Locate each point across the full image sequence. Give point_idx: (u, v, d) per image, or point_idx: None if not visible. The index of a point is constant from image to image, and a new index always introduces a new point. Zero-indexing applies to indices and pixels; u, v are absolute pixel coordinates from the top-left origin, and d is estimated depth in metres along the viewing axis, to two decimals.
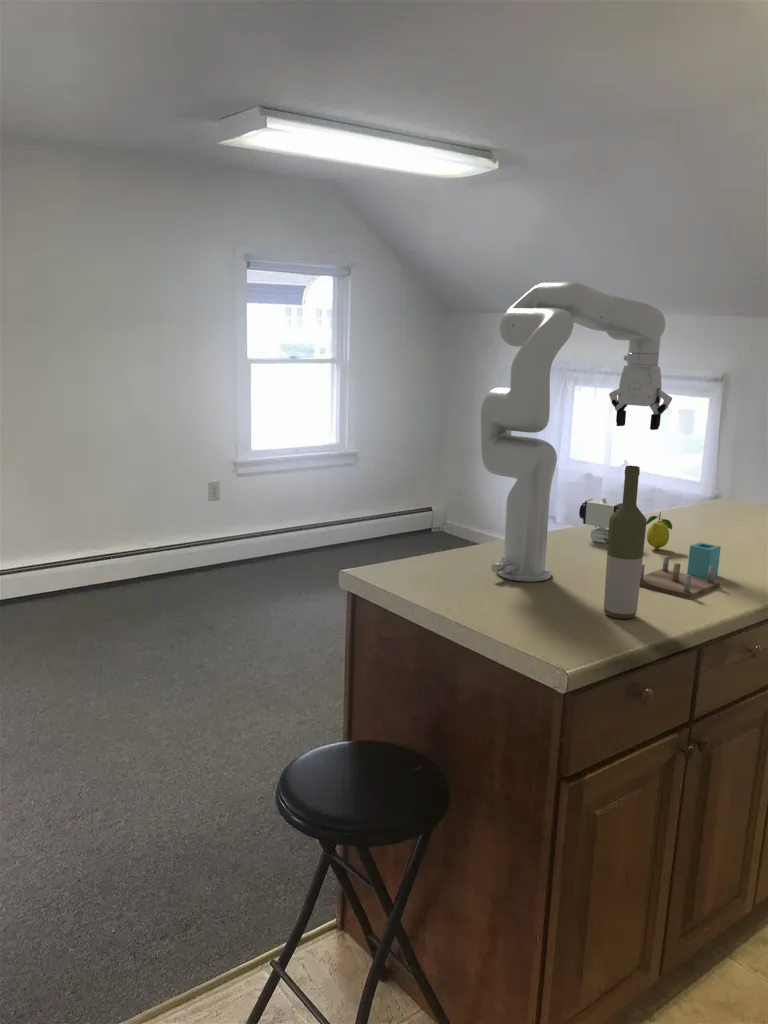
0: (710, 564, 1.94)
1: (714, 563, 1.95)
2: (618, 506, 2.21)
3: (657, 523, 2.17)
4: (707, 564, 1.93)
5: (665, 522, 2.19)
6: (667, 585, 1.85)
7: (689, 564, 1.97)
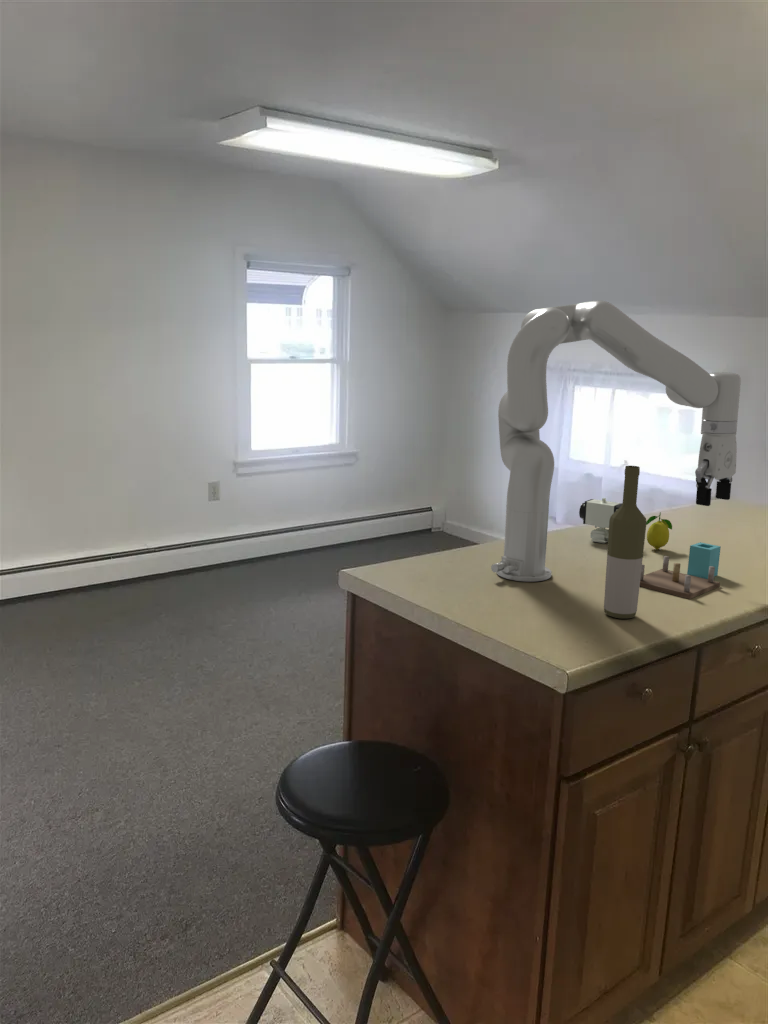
0: (710, 564, 1.94)
1: (714, 563, 1.95)
2: (618, 506, 2.21)
3: (657, 523, 2.17)
4: (707, 564, 1.93)
5: (665, 522, 2.19)
6: (667, 585, 1.85)
7: (689, 564, 1.97)
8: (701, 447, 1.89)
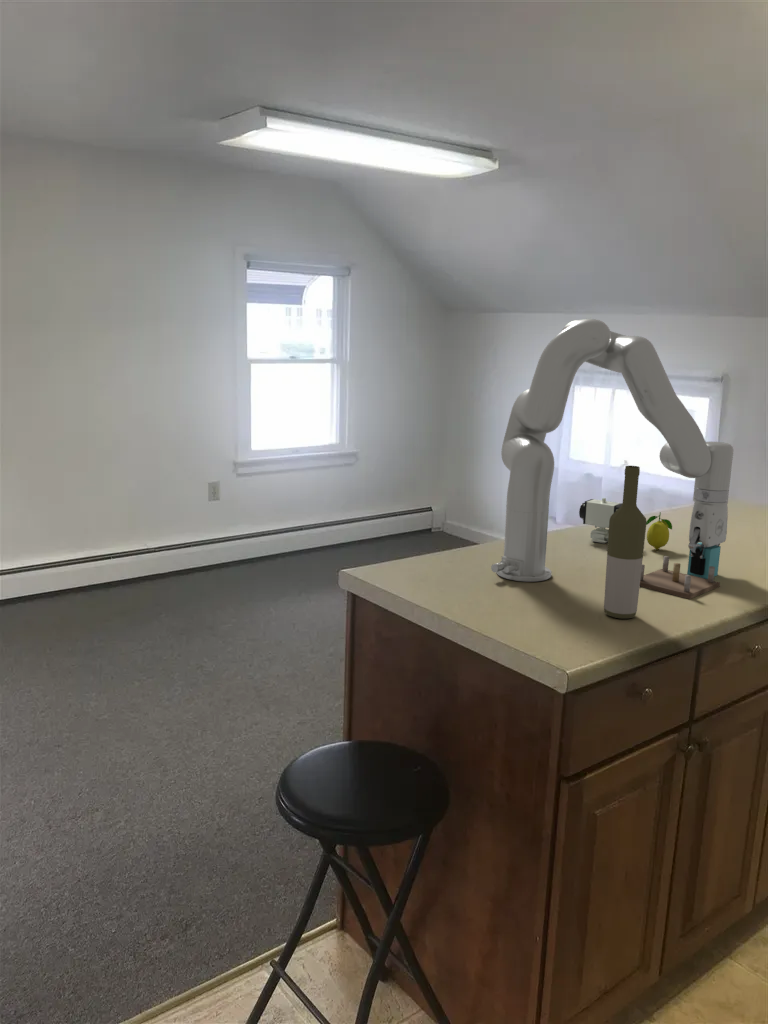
0: (710, 564, 1.94)
1: (714, 563, 1.95)
2: (618, 506, 2.21)
3: (657, 523, 2.17)
4: (707, 564, 1.93)
5: (665, 522, 2.19)
6: (667, 585, 1.85)
7: (689, 564, 1.97)
8: (693, 514, 1.92)
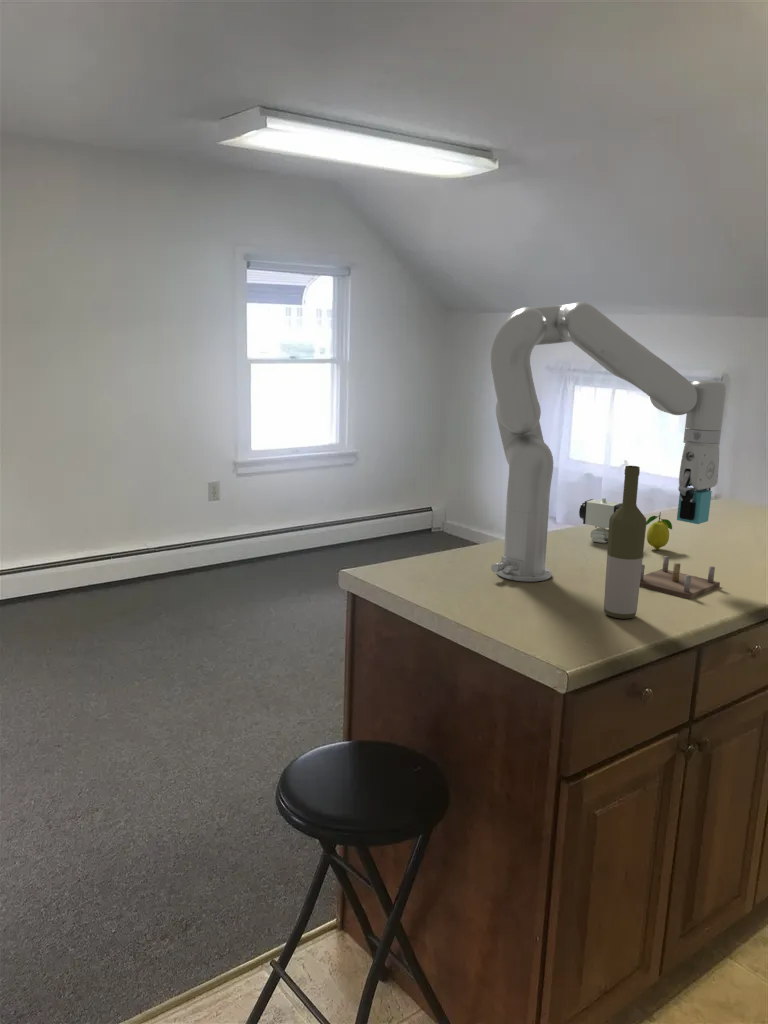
0: (701, 508, 1.86)
1: (705, 507, 1.87)
2: (618, 506, 2.21)
3: (657, 523, 2.17)
4: (698, 508, 1.85)
5: (665, 522, 2.19)
6: (667, 585, 1.85)
7: (679, 509, 1.89)
8: (683, 456, 1.84)
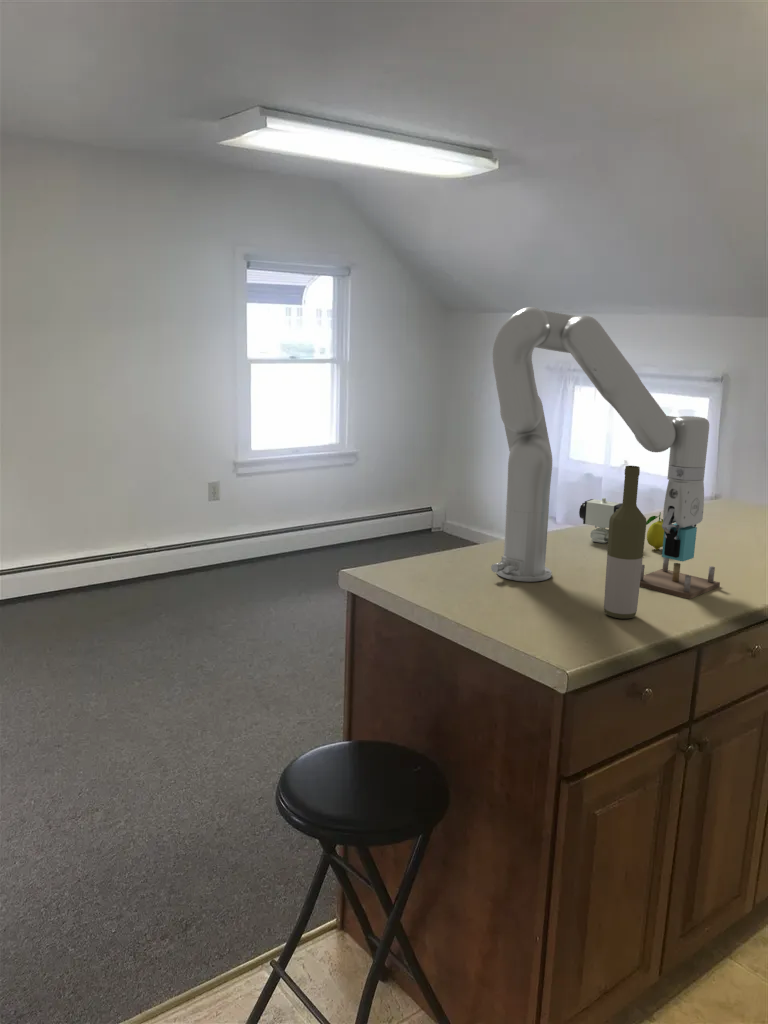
0: (685, 546, 1.83)
1: (690, 544, 1.85)
2: (618, 506, 2.21)
3: (657, 523, 2.17)
4: (682, 546, 1.83)
5: None
6: (667, 585, 1.85)
7: (664, 546, 1.86)
8: (667, 493, 1.82)
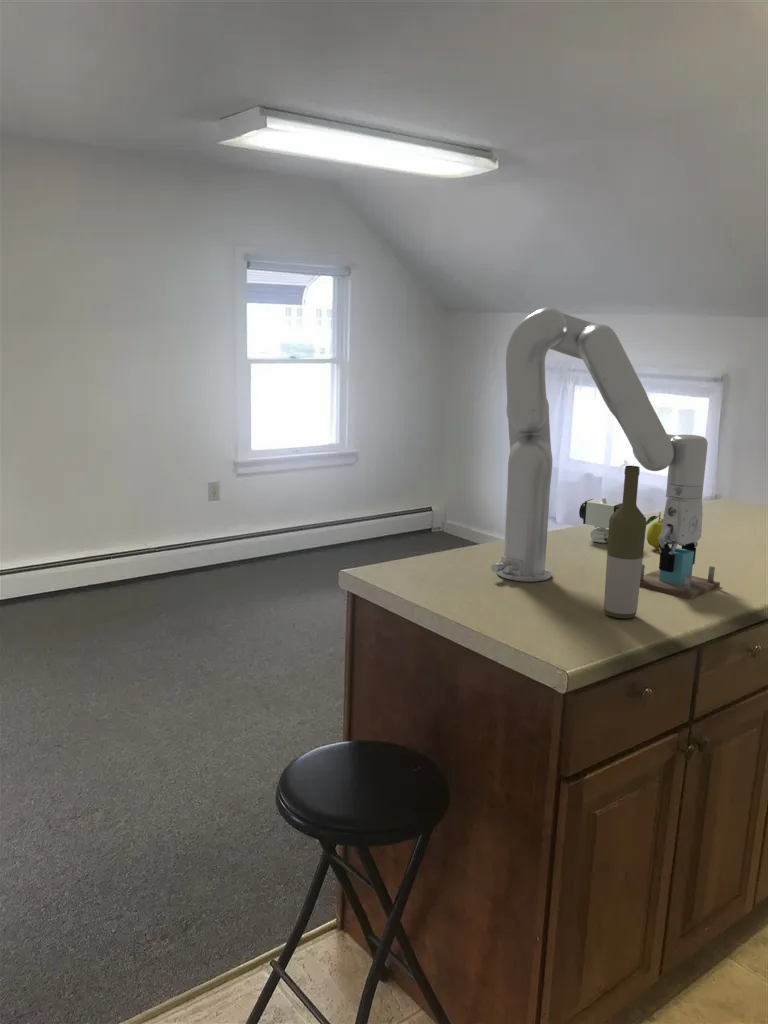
0: (683, 570, 1.84)
1: (687, 568, 1.86)
2: (618, 506, 2.21)
3: (657, 523, 2.17)
4: (680, 570, 1.84)
5: None
6: (667, 585, 1.85)
7: (661, 570, 1.88)
8: (665, 511, 1.83)
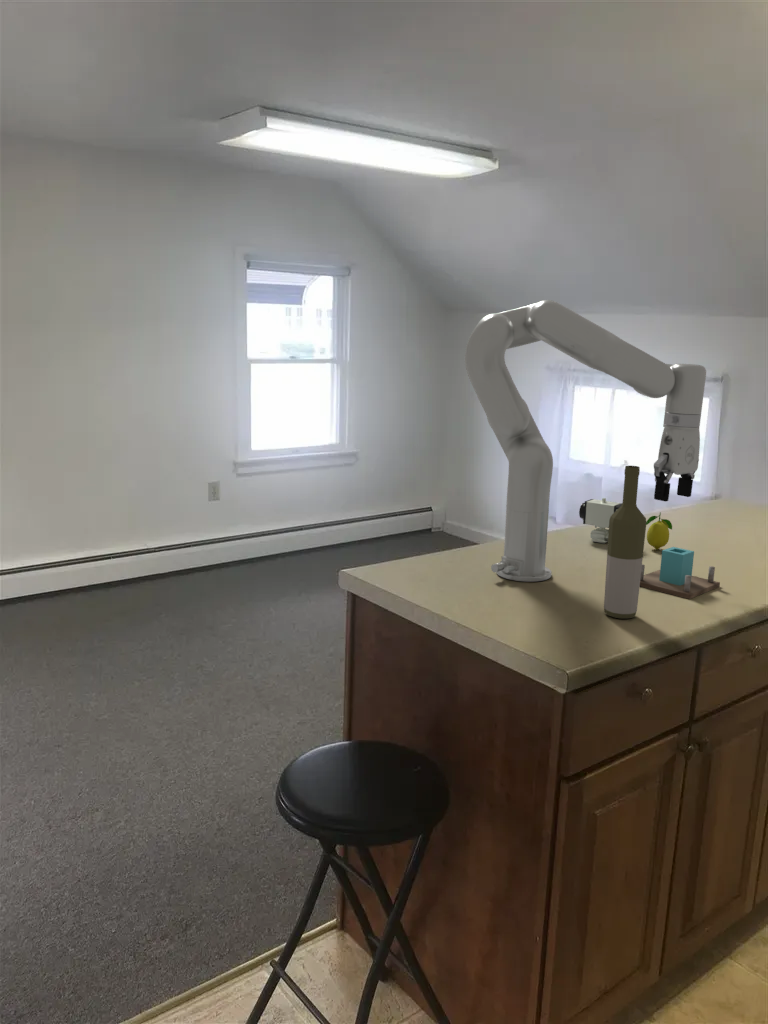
0: (683, 570, 1.84)
1: (687, 568, 1.86)
2: (618, 506, 2.21)
3: (657, 523, 2.17)
4: (680, 570, 1.84)
5: (665, 522, 2.19)
6: (667, 585, 1.85)
7: (661, 570, 1.88)
8: (662, 440, 1.82)
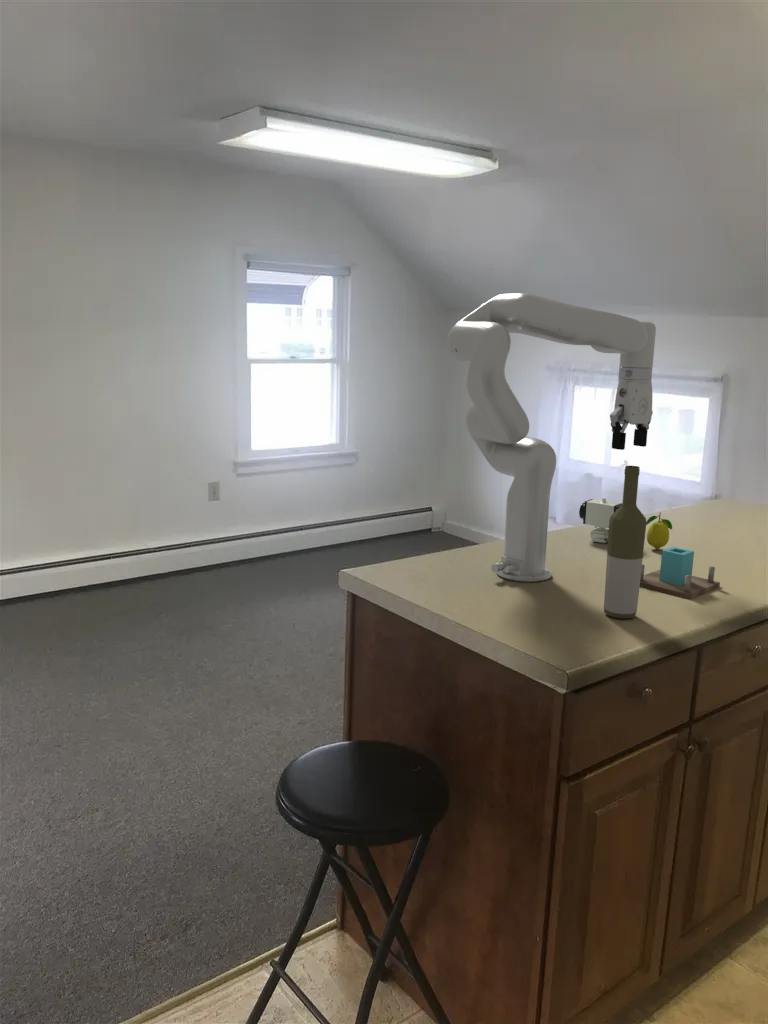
0: (683, 570, 1.84)
1: (687, 568, 1.86)
2: (618, 506, 2.21)
3: (657, 523, 2.17)
4: (680, 570, 1.84)
5: (665, 522, 2.19)
6: (667, 585, 1.85)
7: (661, 570, 1.88)
8: (617, 393, 1.96)
